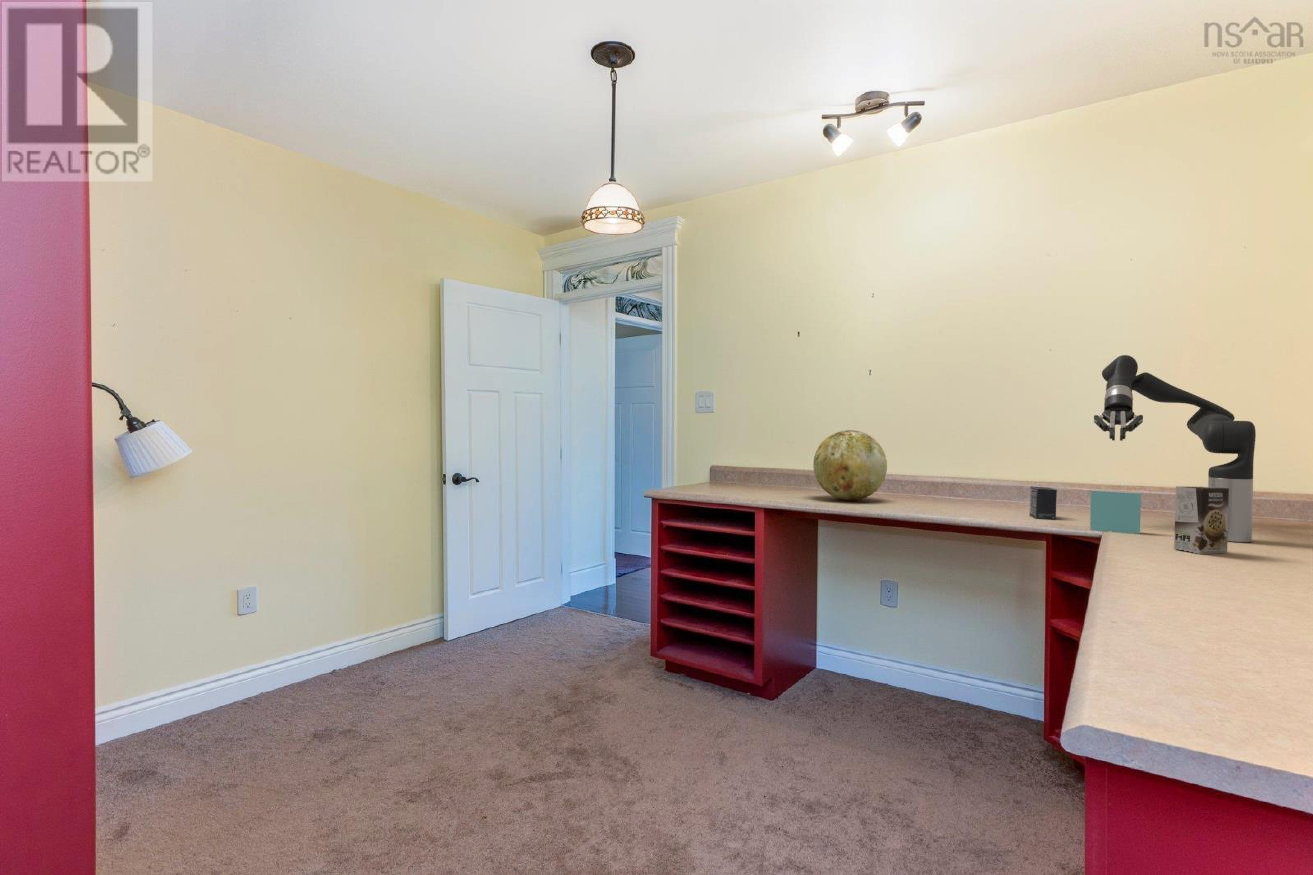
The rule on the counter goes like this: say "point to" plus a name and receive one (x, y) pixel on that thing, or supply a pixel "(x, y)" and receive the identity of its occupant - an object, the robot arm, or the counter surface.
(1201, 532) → the coffee box
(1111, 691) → the counter surface
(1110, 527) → the tile
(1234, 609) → the counter surface
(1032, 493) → the small box
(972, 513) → the counter surface
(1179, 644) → the counter surface
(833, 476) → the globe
